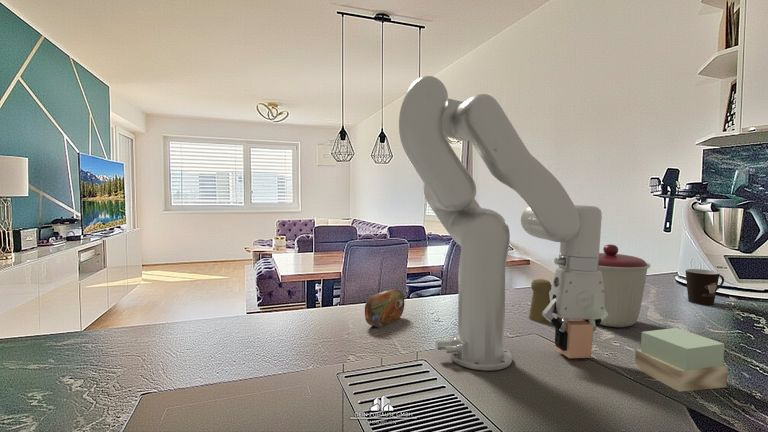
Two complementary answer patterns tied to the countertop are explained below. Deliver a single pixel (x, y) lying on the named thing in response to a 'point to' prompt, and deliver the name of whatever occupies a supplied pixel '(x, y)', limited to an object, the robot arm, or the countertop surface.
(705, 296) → the coffee mug
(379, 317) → the tin
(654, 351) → the top block
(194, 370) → the countertop surface
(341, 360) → the countertop surface
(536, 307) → the cork
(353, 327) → the countertop surface
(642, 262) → the canister
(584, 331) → the terracotta block
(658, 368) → the bottom block
